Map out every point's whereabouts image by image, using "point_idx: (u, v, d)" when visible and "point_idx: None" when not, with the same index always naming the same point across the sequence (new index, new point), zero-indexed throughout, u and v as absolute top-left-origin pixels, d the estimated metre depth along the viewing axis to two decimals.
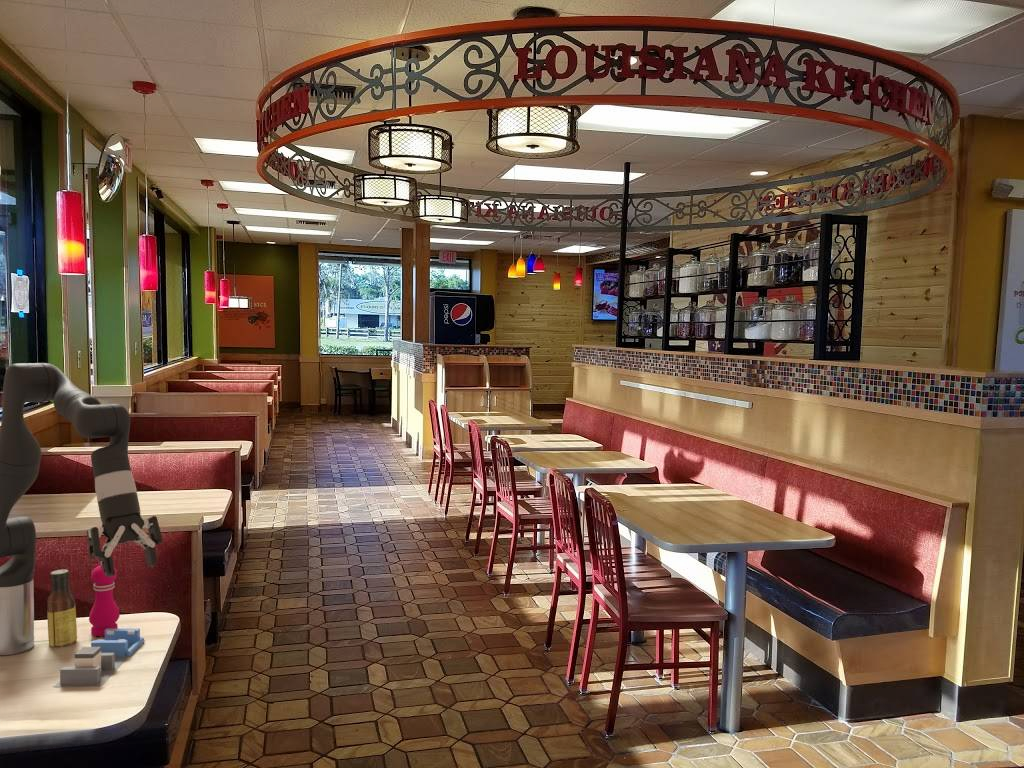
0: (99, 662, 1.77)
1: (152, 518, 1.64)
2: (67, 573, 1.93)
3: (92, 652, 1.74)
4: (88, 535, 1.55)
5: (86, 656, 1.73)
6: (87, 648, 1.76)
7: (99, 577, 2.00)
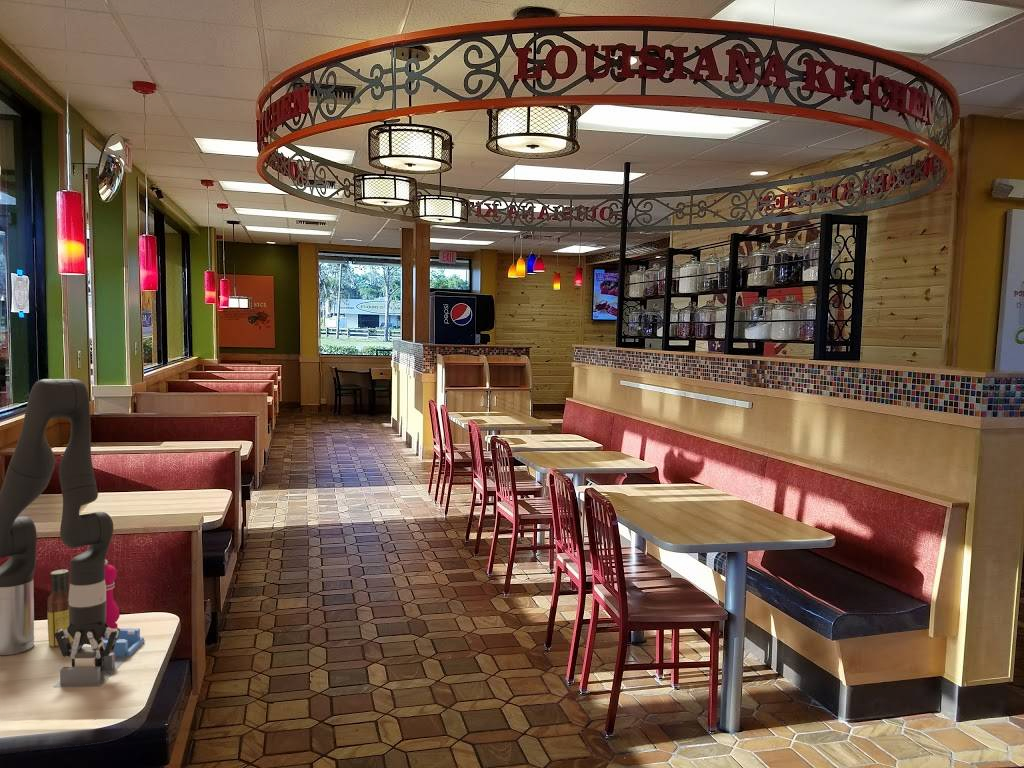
0: None
1: (111, 633, 1.74)
2: (67, 573, 1.93)
3: (92, 652, 1.74)
4: None
5: (86, 656, 1.73)
6: (87, 648, 1.76)
7: None
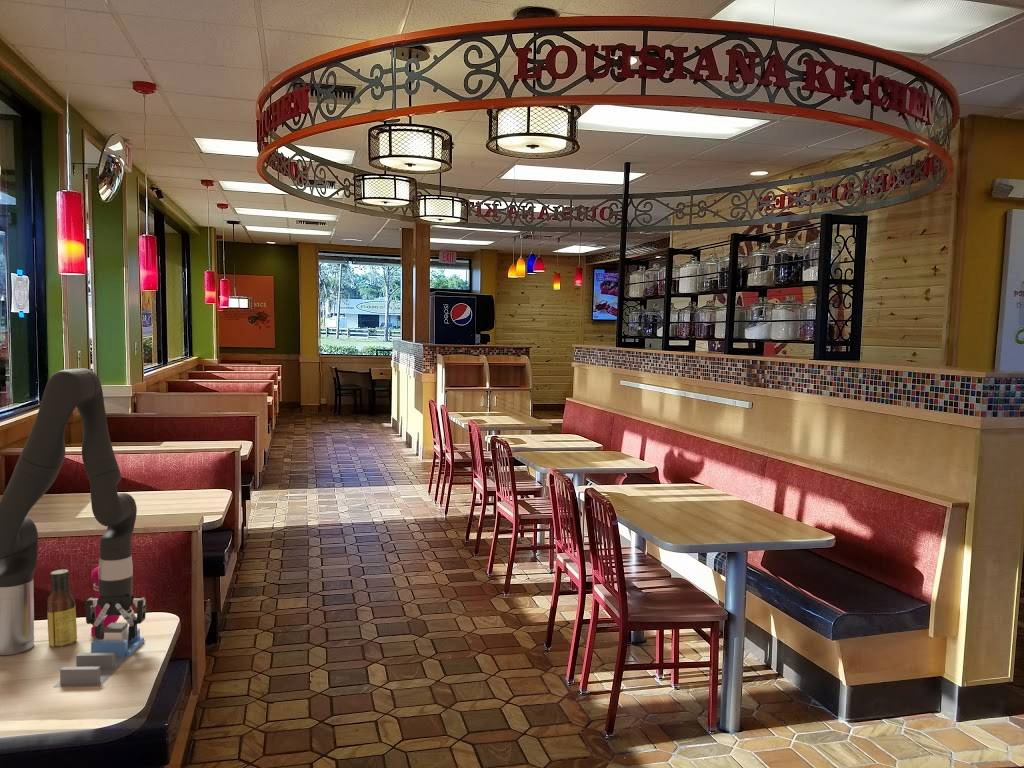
0: (126, 636, 1.92)
1: (138, 602, 1.89)
2: (67, 573, 1.93)
3: (120, 627, 1.89)
4: None
5: (114, 631, 1.88)
6: (115, 624, 1.91)
7: None
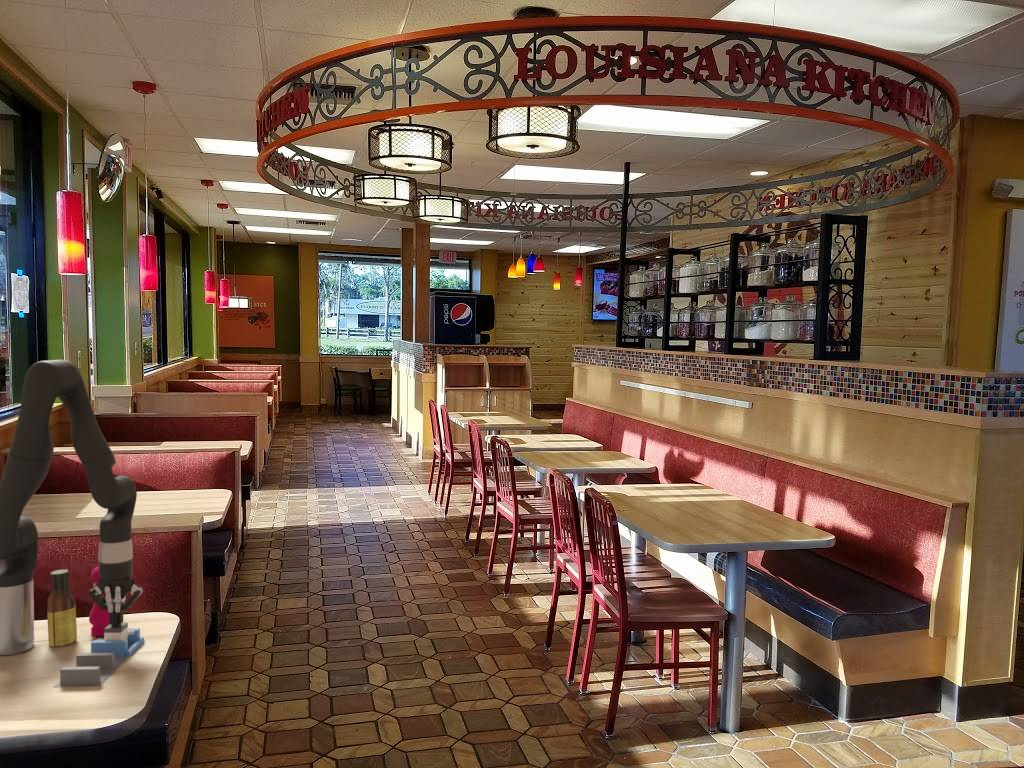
0: (126, 636, 1.92)
1: (136, 591, 1.89)
2: (67, 573, 1.93)
3: (120, 627, 1.89)
4: None
5: (114, 631, 1.88)
6: None
7: None
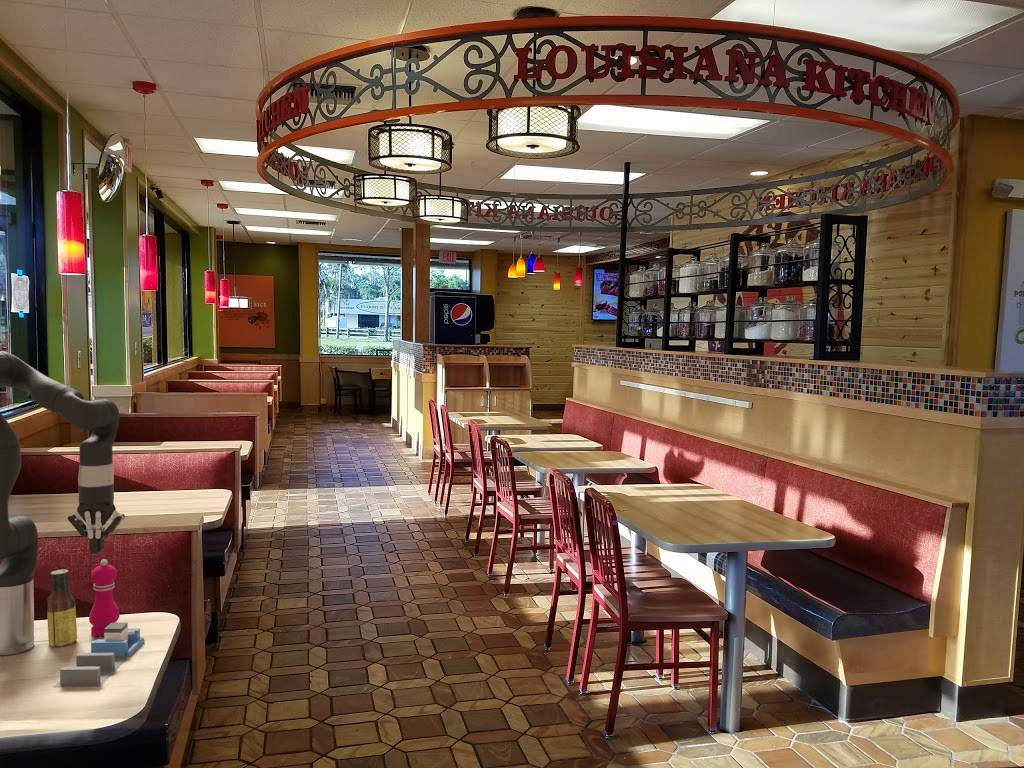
0: (126, 636, 1.92)
1: (117, 517, 1.84)
2: (67, 573, 1.93)
3: (120, 627, 1.89)
4: None
5: (114, 631, 1.88)
6: (115, 624, 1.91)
7: (99, 577, 2.00)
